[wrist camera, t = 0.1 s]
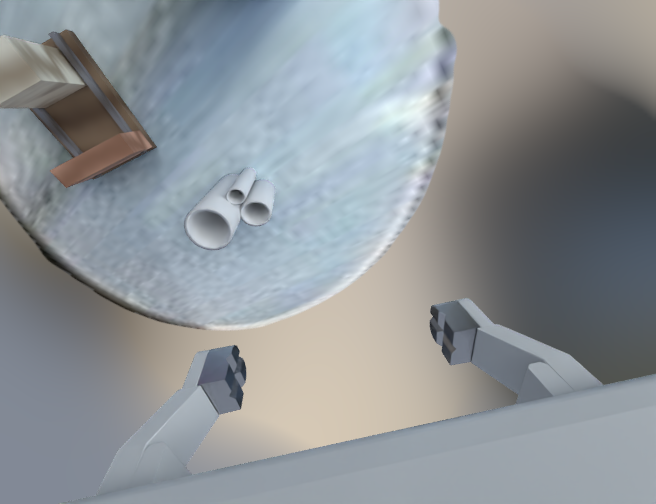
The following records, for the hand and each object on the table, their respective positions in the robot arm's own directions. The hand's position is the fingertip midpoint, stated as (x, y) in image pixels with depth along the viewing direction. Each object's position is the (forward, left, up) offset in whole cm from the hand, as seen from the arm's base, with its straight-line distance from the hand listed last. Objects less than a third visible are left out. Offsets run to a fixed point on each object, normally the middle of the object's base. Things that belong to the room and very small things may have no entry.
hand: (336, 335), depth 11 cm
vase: (+4, -12, -48) cm, 50 cm away
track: (-13, -34, -48) cm, 60 cm away
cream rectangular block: (-18, -36, -46) cm, 61 cm away
